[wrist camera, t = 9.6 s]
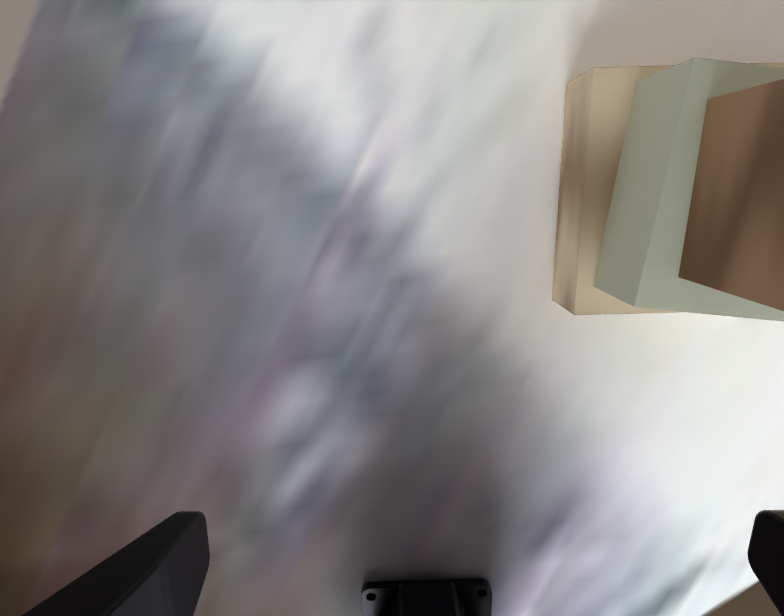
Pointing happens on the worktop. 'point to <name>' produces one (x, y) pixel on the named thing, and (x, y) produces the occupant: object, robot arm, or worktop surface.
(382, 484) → the worktop surface
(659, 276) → the sage top block
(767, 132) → the walnut cube
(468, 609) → the robot arm
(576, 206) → the birch base block
